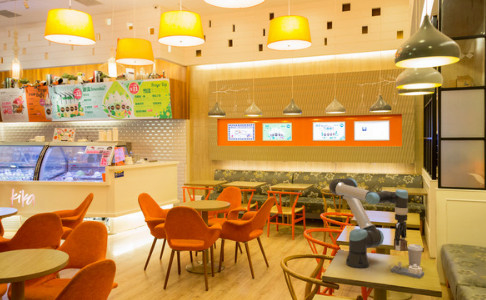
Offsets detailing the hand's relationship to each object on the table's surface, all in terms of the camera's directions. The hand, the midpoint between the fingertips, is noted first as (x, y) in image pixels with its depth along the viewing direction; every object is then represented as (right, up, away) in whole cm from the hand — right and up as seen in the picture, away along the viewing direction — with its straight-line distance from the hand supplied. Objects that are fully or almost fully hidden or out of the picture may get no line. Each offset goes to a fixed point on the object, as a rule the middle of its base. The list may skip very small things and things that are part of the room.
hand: (400, 249), depth 255 cm
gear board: (+3, -15, -3) cm, 16 cm away
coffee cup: (+13, -15, +8) cm, 22 cm away
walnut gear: (0, 0, 0) cm, 0 cm away
